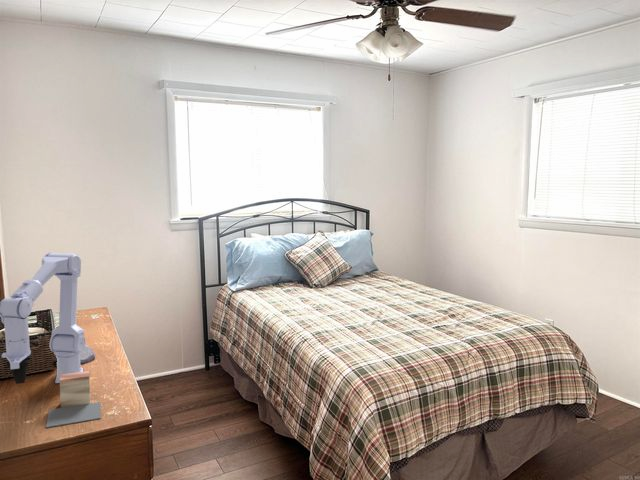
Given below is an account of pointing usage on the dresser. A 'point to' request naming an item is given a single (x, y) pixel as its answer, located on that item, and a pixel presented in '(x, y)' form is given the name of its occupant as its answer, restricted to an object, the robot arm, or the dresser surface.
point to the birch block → (75, 389)
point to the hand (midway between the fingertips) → (20, 382)
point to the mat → (74, 414)
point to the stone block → (86, 354)
